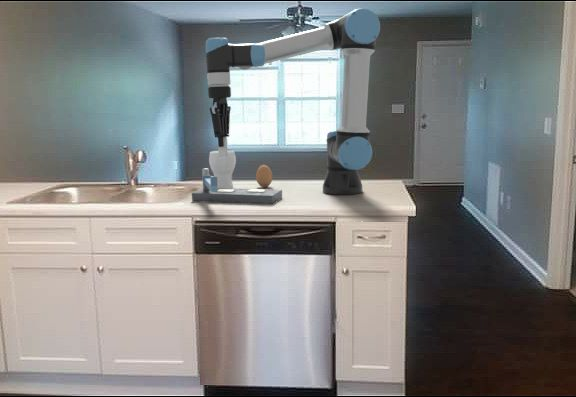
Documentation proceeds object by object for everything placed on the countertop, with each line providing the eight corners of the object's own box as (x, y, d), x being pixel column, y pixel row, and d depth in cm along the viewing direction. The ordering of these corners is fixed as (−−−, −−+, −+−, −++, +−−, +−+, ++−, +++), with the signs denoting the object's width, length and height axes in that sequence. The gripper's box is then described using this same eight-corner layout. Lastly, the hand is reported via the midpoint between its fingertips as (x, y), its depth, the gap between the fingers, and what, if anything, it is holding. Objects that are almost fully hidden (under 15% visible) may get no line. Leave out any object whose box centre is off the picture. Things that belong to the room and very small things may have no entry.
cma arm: (219, 194, 184) (218, 176, 183) (210, 195, 184) (209, 177, 183) (210, 185, 203) (210, 169, 202) (203, 186, 202) (202, 169, 201)
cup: (232, 191, 220) (231, 153, 217) (206, 191, 222) (204, 153, 219) (240, 187, 230) (238, 150, 227) (215, 186, 232) (213, 150, 230)
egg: (275, 186, 230) (275, 164, 228) (266, 189, 224) (266, 166, 223) (262, 185, 233) (261, 163, 232) (253, 187, 228) (252, 165, 226)
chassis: (282, 198, 204) (281, 167, 202) (272, 204, 193) (271, 172, 191) (205, 195, 212) (204, 166, 210) (192, 201, 201) (190, 170, 199)
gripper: (216, 86, 195) (220, 154, 200) (200, 86, 183) (205, 158, 187) (236, 85, 193) (240, 154, 198) (222, 85, 181) (226, 158, 185)
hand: (223, 156), depth 193 cm, fingers closed
